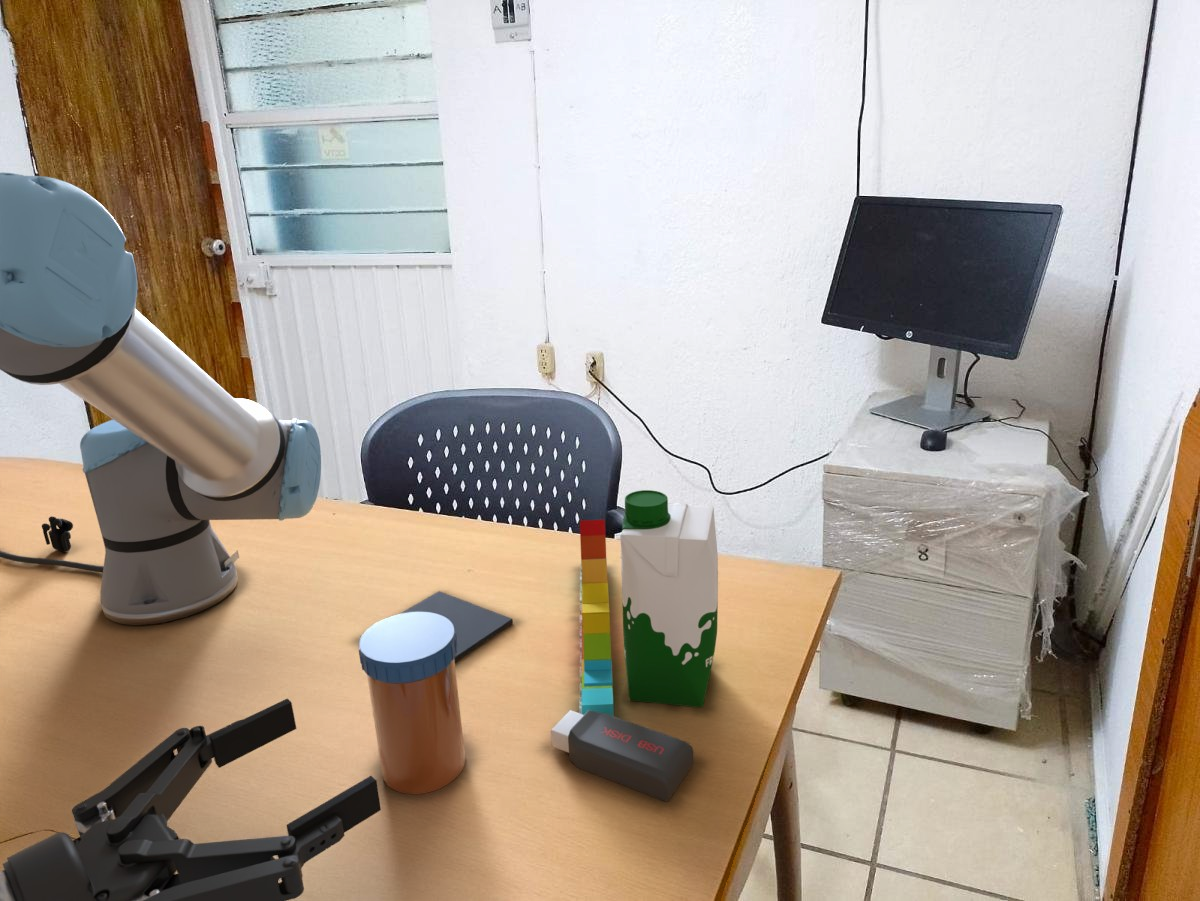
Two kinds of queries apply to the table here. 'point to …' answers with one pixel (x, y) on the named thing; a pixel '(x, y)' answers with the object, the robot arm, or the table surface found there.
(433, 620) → the lid
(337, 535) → the table surface
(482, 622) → the mat
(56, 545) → the wireless earbuds
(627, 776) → the usb drive
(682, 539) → the milk carton
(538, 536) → the table surface
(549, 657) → the table surface
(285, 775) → the table surface
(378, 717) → the jar
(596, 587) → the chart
